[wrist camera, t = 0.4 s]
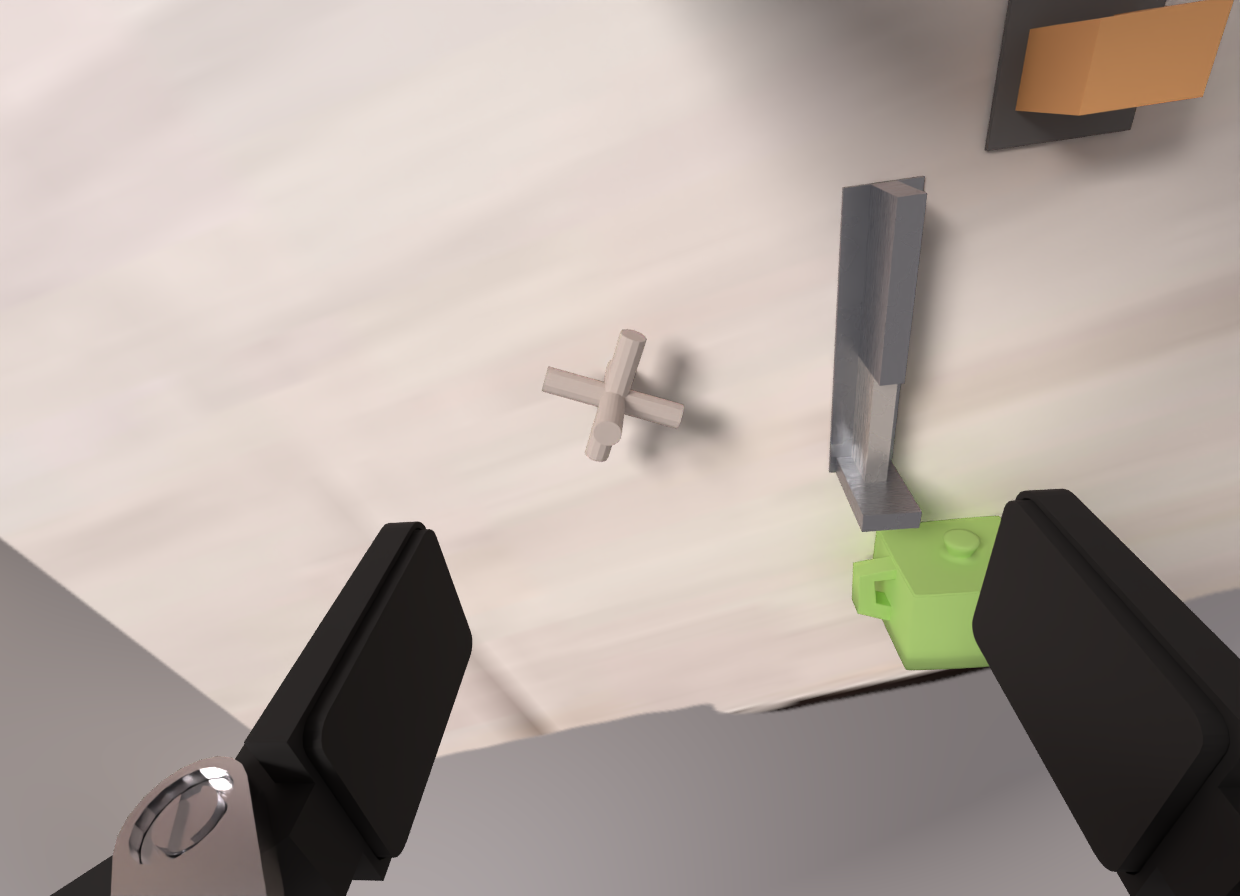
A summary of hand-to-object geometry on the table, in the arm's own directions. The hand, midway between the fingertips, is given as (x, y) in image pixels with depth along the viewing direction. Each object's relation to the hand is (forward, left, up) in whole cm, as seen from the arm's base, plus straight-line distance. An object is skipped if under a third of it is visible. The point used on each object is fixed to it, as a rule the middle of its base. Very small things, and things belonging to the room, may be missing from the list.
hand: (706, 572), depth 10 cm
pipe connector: (+11, -6, -35) cm, 37 cm away
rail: (+12, +13, -35) cm, 39 cm away
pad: (-5, +23, -35) cm, 42 cm away
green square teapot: (+32, +21, -35) cm, 52 cm away
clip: (-5, +23, -34) cm, 42 cm away
